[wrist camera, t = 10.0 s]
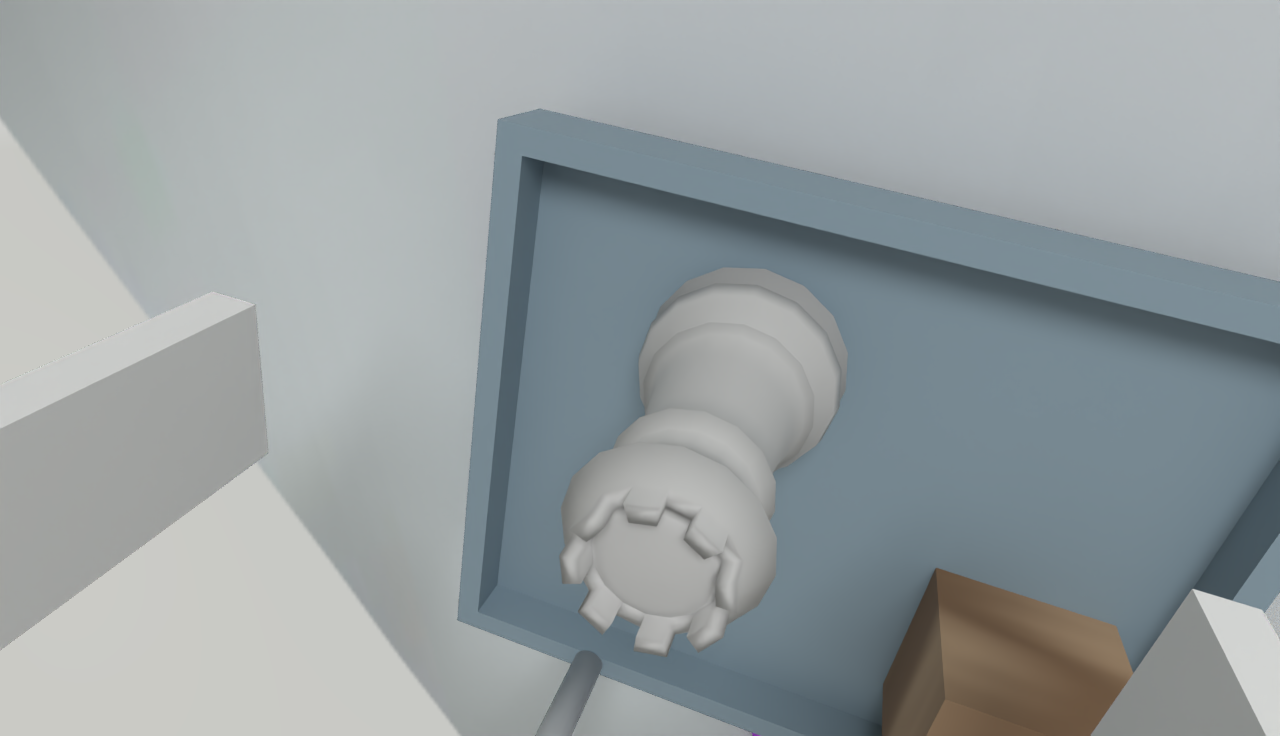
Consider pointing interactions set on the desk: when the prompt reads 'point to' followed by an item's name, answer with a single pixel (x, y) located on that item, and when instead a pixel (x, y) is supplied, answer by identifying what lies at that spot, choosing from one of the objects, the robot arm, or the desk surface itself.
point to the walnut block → (1000, 666)
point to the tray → (866, 418)
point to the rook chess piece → (703, 458)
